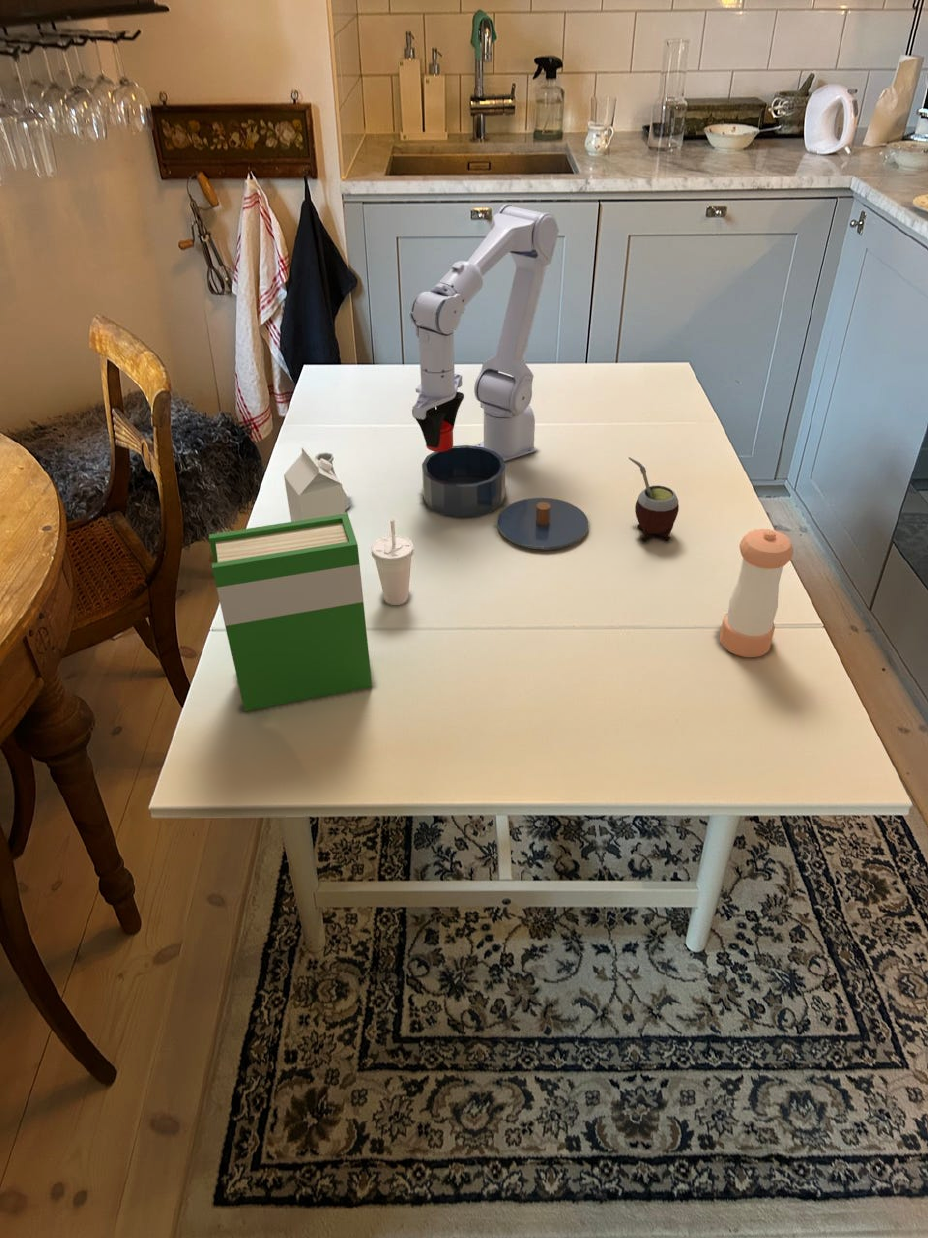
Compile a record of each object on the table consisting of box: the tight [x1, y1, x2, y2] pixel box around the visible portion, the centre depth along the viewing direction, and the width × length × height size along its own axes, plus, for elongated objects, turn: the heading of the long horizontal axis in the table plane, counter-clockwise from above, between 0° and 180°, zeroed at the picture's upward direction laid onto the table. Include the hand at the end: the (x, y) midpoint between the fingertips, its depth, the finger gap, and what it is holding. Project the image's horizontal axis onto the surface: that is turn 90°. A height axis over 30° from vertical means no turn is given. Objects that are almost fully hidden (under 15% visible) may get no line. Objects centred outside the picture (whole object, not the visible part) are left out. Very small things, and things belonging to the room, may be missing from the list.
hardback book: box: [208, 512, 373, 712], centre depth 124 cm, size 18×7×24 cm, turn 105°
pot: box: [421, 444, 507, 518], centre depth 168 cm, size 15×15×6 cm
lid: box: [497, 497, 589, 550], centre depth 160 cm, size 16×16×4 cm
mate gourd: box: [628, 456, 680, 543], centre depth 155 cm, size 8×8×15 cm
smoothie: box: [370, 518, 415, 606], centre depth 142 cm, size 6×6×14 cm
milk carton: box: [283, 446, 346, 522], centre depth 149 cm, size 7×7×19 cm
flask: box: [314, 452, 351, 511], centre depth 165 cm, size 7×7×10 cm
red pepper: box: [425, 421, 454, 452], centre depth 164 cm, size 5×5×5 cm
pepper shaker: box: [719, 528, 794, 658], centre depth 131 cm, size 7×7×19 cm
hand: (439, 439), depth 165 cm, fingers closed on red pepper, 5 cm apart
